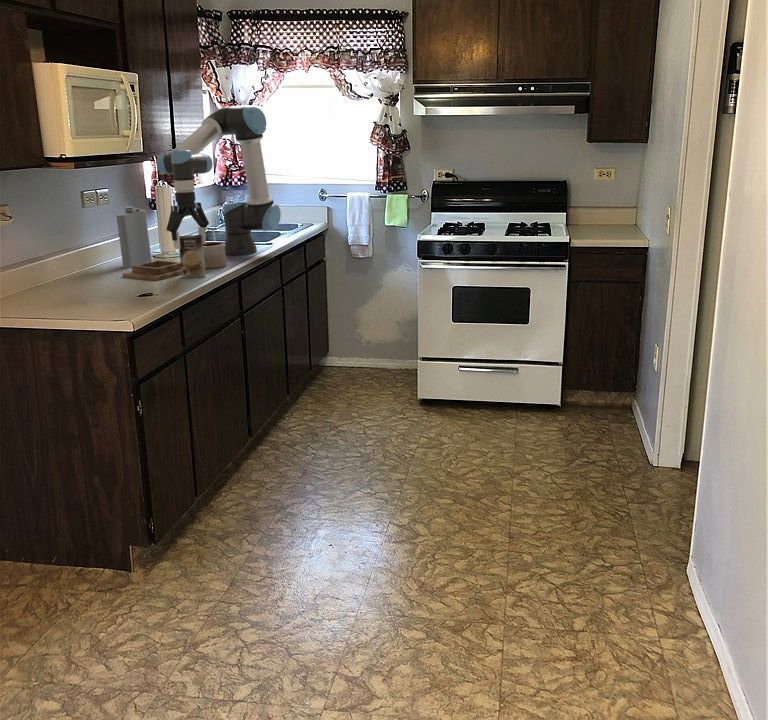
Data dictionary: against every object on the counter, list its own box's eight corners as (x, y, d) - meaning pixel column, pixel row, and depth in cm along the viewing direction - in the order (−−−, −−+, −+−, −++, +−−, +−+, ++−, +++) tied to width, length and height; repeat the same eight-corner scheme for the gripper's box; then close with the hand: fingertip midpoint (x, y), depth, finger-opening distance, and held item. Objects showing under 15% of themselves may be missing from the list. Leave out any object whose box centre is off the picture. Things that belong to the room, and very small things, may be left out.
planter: (220, 269, 332) (218, 246, 330) (195, 269, 335) (193, 246, 332) (230, 264, 343) (228, 241, 340) (206, 264, 345) (204, 242, 342)
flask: (144, 260, 359) (137, 204, 352) (153, 260, 358) (146, 204, 350) (120, 268, 344) (112, 209, 336) (129, 268, 342) (121, 209, 335)
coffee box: (181, 278, 316) (177, 238, 311) (183, 275, 322) (178, 235, 317) (205, 277, 317) (201, 236, 312) (206, 274, 323) (202, 234, 318)
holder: (160, 267, 340) (159, 258, 339) (194, 271, 330) (193, 261, 329) (122, 276, 324) (121, 267, 323) (157, 280, 314) (155, 270, 313)
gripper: (201, 188, 321) (206, 241, 327) (153, 194, 301) (159, 250, 307) (214, 188, 317) (219, 242, 323) (167, 194, 297) (173, 251, 303)
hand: (190, 246), depth 315 cm, fingers open, 13 cm apart
